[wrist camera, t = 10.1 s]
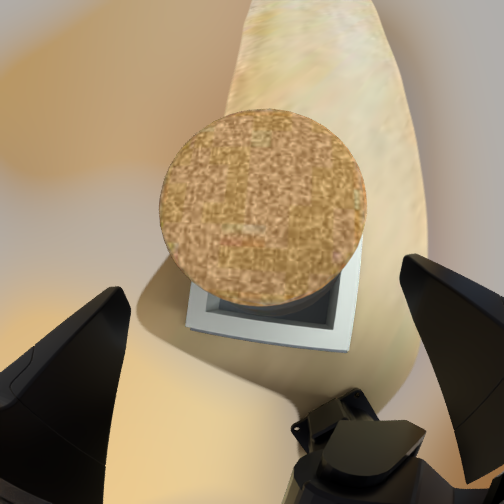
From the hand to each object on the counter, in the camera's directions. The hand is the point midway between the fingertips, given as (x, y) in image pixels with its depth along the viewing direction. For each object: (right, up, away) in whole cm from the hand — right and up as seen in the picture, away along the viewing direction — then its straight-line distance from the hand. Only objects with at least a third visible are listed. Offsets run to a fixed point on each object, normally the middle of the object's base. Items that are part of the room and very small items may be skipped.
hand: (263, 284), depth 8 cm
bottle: (+2, 0, +13) cm, 13 cm away
